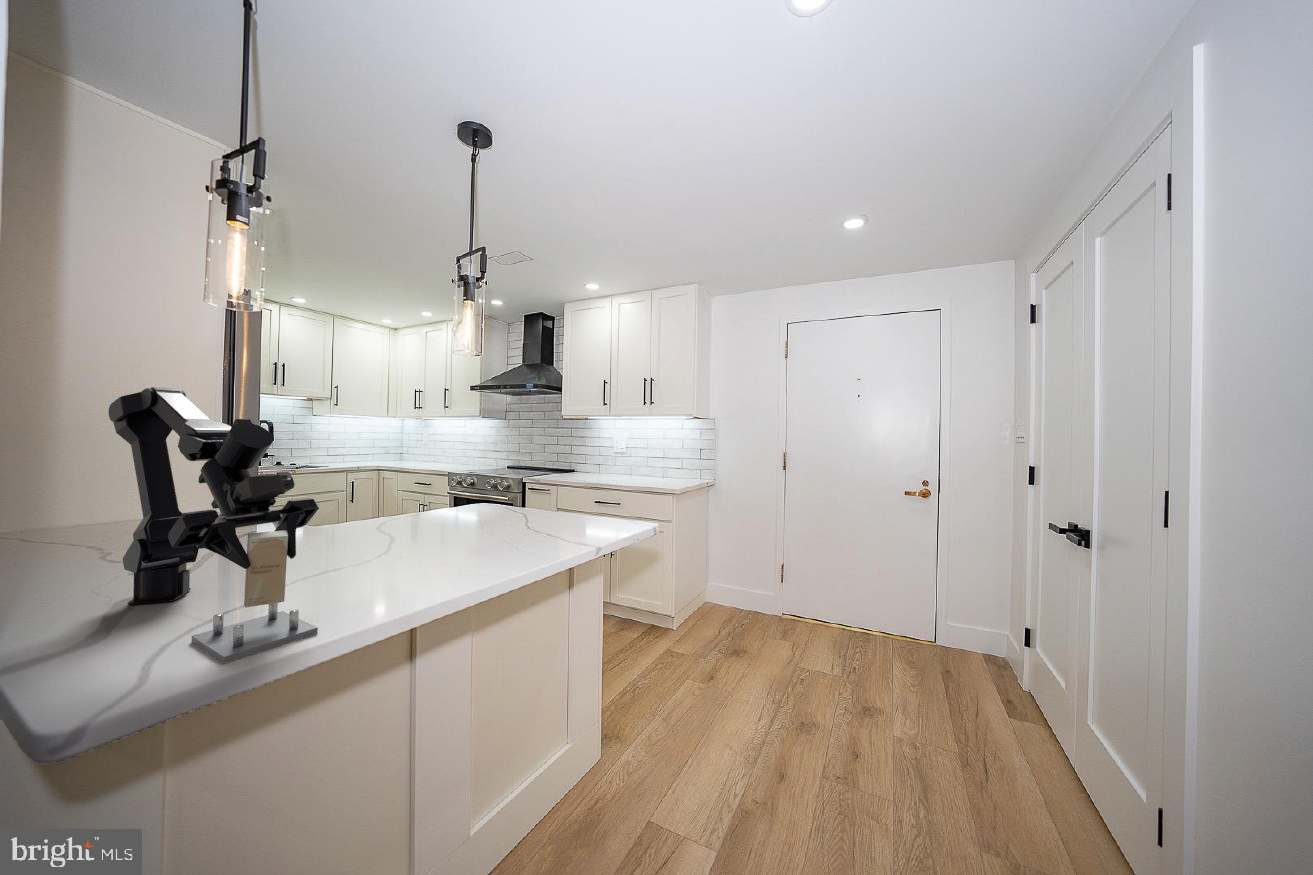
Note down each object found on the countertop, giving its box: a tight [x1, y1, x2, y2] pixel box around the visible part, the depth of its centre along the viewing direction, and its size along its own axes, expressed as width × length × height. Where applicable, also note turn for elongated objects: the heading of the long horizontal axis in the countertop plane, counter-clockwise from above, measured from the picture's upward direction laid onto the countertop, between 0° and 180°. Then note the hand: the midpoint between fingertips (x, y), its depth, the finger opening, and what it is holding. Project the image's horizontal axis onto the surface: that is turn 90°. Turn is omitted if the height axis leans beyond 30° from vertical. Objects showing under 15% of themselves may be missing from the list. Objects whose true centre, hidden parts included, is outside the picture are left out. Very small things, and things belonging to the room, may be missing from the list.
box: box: [243, 530, 288, 608], centre depth 76 cm, size 5×4×11 cm
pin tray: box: [191, 603, 319, 665], centre depth 75 cm, size 12×12×4 cm
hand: (271, 561), depth 76 cm, fingers closed on box, 6 cm apart
